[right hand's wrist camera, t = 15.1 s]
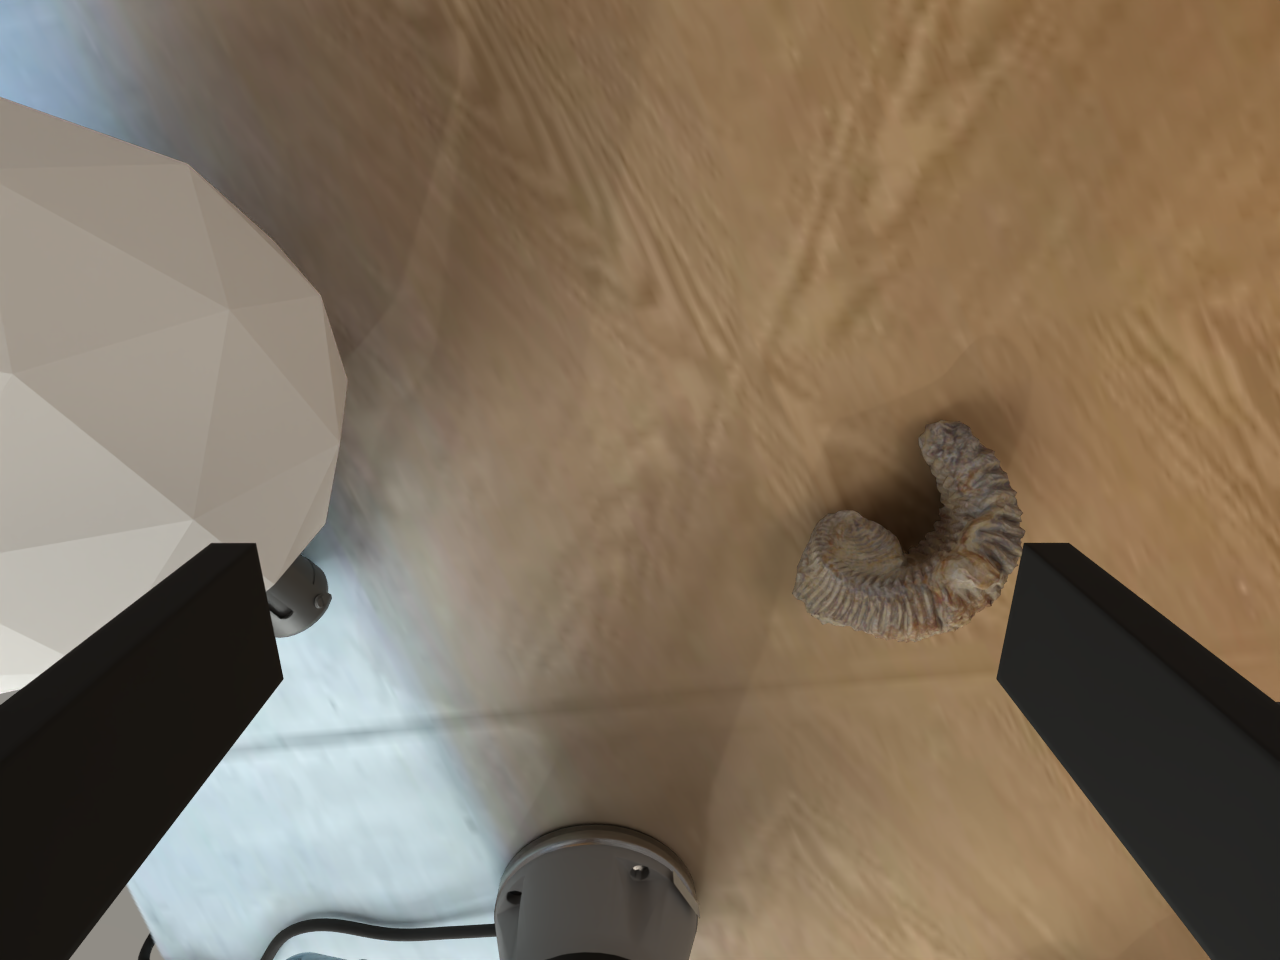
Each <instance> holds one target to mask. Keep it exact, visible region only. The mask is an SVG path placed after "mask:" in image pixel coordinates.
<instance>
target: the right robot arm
mask: <svg viewBox="0 0 1280 960" xmlns="http://www.w3.org/2000/svg"><path fill="white" fill-rule="evenodd" d="M282 680H283V674H282V669H281V664H280V659H279V654H278V649H277V644H276V639H275V634H274V629H273V624H272V619H271V615H270V610H269V605H268V600H267V595H266V590H265V585H264V580H263V575H262V570H261V565H260V560H259V555H258V550H257V545H256V543H211V544H209V545H208V546H207V547H205V548H204V549H203V550H201V551H200V552H199V553H198V554H196V555H195V556H194V557H192V558H191V559H190V560H188V561H187V562H186V563H185V564H183V565H182V566H181V567H179V568H178V569H177V570H175V571H174V572H173V573H172V574H170V575H169V576H168V577H166V578H165V579H164V580H162V581H161V582H160V583H159V584H157V585H156V586H155V587H153V588H152V589H151V590H149V591H148V592H147V593H146V594H144V595H143V596H142V597H140V598H139V599H138V600H136V601H135V602H134V603H133V604H131V605H130V606H129V607H127V608H126V609H125V610H123V611H122V612H121V613H120V614H118V615H117V616H116V617H114V618H113V619H112V620H110V621H109V622H108V623H107V624H105V625H104V626H103V627H101V628H100V629H99V630H97V631H96V632H95V633H94V634H92V635H91V636H90V637H88V638H87V639H86V640H84V641H83V642H82V643H81V644H79V645H78V646H77V647H75V648H74V649H73V650H71V651H70V652H69V653H68V654H66V655H65V656H64V657H62V658H61V659H60V660H58V661H57V662H56V663H55V664H53V665H52V666H51V667H49V668H48V669H47V670H45V671H44V672H43V673H42V674H40V675H39V676H38V677H36V678H35V679H34V680H32V681H31V682H30V683H29V684H27V685H26V686H25V687H23V688H22V689H21V690H19V691H18V692H17V693H16V694H14V695H13V696H12V697H10V698H9V699H8V700H6V701H5V702H4V703H3V704H1V705H0V960H69V959H70V957H71V956H72V955H73V953H74V952H75V951H76V949H77V948H78V947H79V946H80V944H81V943H82V942H83V940H84V939H85V938H86V936H87V935H88V934H89V933H90V931H91V930H92V929H93V927H94V926H95V925H96V923H97V922H98V921H99V919H100V918H101V917H102V915H103V914H104V913H105V912H106V910H107V909H108V908H109V906H110V905H111V904H112V902H113V901H114V900H115V899H116V897H117V896H118V895H119V893H120V892H121V891H122V889H123V888H124V887H125V885H126V884H127V883H128V882H129V880H130V879H131V878H132V876H133V875H134V874H135V872H136V871H137V870H138V868H139V867H140V866H141V865H142V863H143V862H144V861H145V859H146V858H147V857H148V855H149V854H150V853H151V851H152V850H153V849H154V848H155V846H156V845H157V844H158V842H159V841H160V840H161V838H162V837H163V836H164V835H165V833H166V832H167V831H168V829H169V828H170V827H171V825H172V824H173V823H174V821H175V820H176V819H177V818H178V816H179V815H180V814H181V812H182V811H183V810H184V808H185V807H186V806H187V804H188V803H189V802H190V801H191V799H192V798H193V797H194V795H195V794H196V793H197V791H198V790H199V789H200V787H201V786H202V785H203V784H204V782H205V781H206V780H207V778H208V777H209V776H210V774H211V773H212V772H213V770H214V769H215V768H216V767H217V765H218V764H219V763H220V761H221V760H222V759H223V757H224V756H225V755H226V753H227V752H228V751H229V750H230V748H231V747H232V746H233V744H234V743H235V742H236V740H237V739H238V738H239V736H240V735H241V734H242V733H243V731H244V730H245V729H246V727H247V726H248V725H249V723H250V722H251V721H252V720H253V718H254V717H255V716H256V714H257V713H258V712H259V710H260V709H261V708H262V706H263V705H264V704H265V703H266V701H267V700H268V699H269V697H270V696H271V695H272V693H273V692H274V691H275V689H276V688H277V687H278V686H279V684H280V683H281V682H282ZM997 680H998V682H999V683H1000V684H1001V686H1002V687H1003V688H1004V689H1005V691H1006V692H1007V693H1008V695H1009V696H1010V697H1011V699H1012V700H1013V701H1014V703H1015V704H1016V705H1017V706H1018V708H1019V709H1020V710H1021V712H1022V713H1023V714H1024V716H1025V717H1026V718H1027V720H1028V721H1029V722H1030V723H1031V725H1032V726H1033V727H1034V729H1035V730H1036V731H1037V733H1038V734H1039V735H1040V736H1041V738H1042V739H1043V740H1044V742H1045V743H1046V744H1047V746H1048V747H1049V748H1050V750H1051V751H1052V752H1053V753H1054V755H1055V756H1056V757H1057V759H1058V760H1059V761H1060V763H1061V764H1062V765H1063V767H1064V768H1065V769H1066V770H1067V772H1068V773H1069V774H1070V776H1071V777H1072V778H1073V780H1074V781H1075V782H1076V784H1077V785H1078V786H1079V787H1080V789H1081V790H1082V791H1083V793H1084V794H1085V795H1086V797H1087V798H1088V799H1089V801H1090V802H1091V803H1092V804H1093V806H1094V807H1095V808H1096V810H1097V811H1098V812H1099V814H1100V815H1101V816H1102V818H1103V819H1104V820H1105V821H1106V823H1107V824H1108V825H1109V827H1110V828H1111V829H1112V831H1113V832H1114V833H1115V835H1116V836H1117V837H1118V838H1119V840H1120V841H1121V842H1122V844H1123V845H1124V846H1125V848H1126V849H1127V850H1128V852H1129V853H1130V854H1131V855H1132V857H1133V858H1134V859H1135V861H1136V862H1137V863H1138V865H1139V866H1140V867H1141V868H1142V870H1143V871H1144V872H1145V874H1146V875H1147V876H1148V878H1149V879H1150V880H1151V882H1152V883H1153V884H1154V885H1155V887H1156V888H1157V889H1158V891H1159V892H1160V893H1161V895H1162V896H1163V897H1164V899H1165V900H1166V901H1167V902H1168V904H1169V905H1170V906H1171V908H1172V909H1173V910H1174V912H1175V913H1176V914H1177V916H1178V917H1179V918H1180V919H1181V921H1182V922H1183V923H1184V925H1185V926H1186V927H1187V929H1188V930H1189V931H1190V933H1191V934H1192V935H1193V936H1194V938H1195V939H1196V940H1197V942H1198V943H1199V944H1200V946H1201V947H1202V948H1203V950H1204V951H1205V952H1206V953H1207V955H1208V956H1209V957H1210V959H1211V960H1280V702H1275V701H1274V700H1272V699H1271V698H1270V697H1268V696H1267V695H1266V694H1264V693H1263V692H1262V691H1261V690H1259V689H1258V688H1257V687H1255V686H1254V685H1253V684H1251V683H1250V682H1249V681H1248V680H1246V679H1245V678H1244V677H1242V676H1241V675H1240V674H1238V673H1237V672H1236V671H1235V670H1233V669H1232V668H1231V667H1229V666H1228V665H1227V664H1225V663H1224V662H1223V661H1222V660H1220V659H1219V658H1218V657H1216V656H1215V655H1214V654H1212V653H1211V652H1210V651H1209V650H1207V649H1206V648H1205V647H1203V646H1202V645H1201V644H1199V643H1198V642H1197V641H1196V640H1194V639H1193V638H1192V637H1190V636H1189V635H1188V634H1186V633H1185V632H1184V631H1183V630H1181V629H1180V628H1179V627H1177V626H1176V625H1175V624H1173V623H1172V622H1171V621H1170V620H1168V619H1167V618H1166V617H1164V616H1163V615H1162V614H1160V613H1159V612H1158V611H1157V610H1155V609H1154V608H1153V607H1151V606H1150V605H1149V604H1147V603H1146V602H1145V601H1144V600H1142V599H1141V598H1140V597H1138V596H1137V595H1136V594H1134V593H1133V592H1132V591H1131V590H1129V589H1128V588H1127V587H1125V586H1124V585H1123V584H1121V583H1120V582H1119V581H1118V580H1116V579H1115V578H1114V577H1112V576H1111V575H1110V574H1108V573H1107V572H1106V571H1105V570H1103V569H1102V568H1101V567H1099V566H1098V565H1097V564H1095V563H1094V562H1093V561H1092V560H1090V559H1089V558H1088V557H1086V556H1085V555H1084V554H1082V553H1081V552H1080V551H1079V550H1077V549H1076V548H1075V547H1073V546H1072V545H1071V544H1069V543H1024V545H1023V550H1022V555H1021V560H1020V565H1019V570H1018V575H1017V580H1016V585H1015V590H1014V595H1013V600H1012V605H1011V610H1010V615H1009V619H1008V624H1007V629H1006V634H1005V639H1004V644H1003V649H1002V654H1001V659H1000V664H999V669H998V674H997ZM698 917H699V918H700V913H699V904H698V903H697V902H696V893H695V887H694V883H693V880H692V877H691V875H690V873H689V871H688V869H687V868H686V866H685V865H684V863H683V862H682V861H681V860H680V859H679V857H678V856H677V855H676V854H675V853H674V852H673V851H671V850H670V849H669V848H668V847H666V846H665V845H664V844H662V843H660V842H659V841H657V840H656V839H654V838H652V837H650V836H648V835H645V834H643V833H640V832H637V831H634V830H631V829H627V828H623V827H618V826H611V825H580V826H573V827H568V828H564V829H560V830H557V831H554V832H551V833H548V834H546V835H544V836H541V837H540V838H538V839H536V840H534V841H532V842H531V843H529V844H528V845H527V846H525V847H524V848H523V849H522V850H520V851H519V852H518V853H517V854H516V855H515V856H514V858H513V859H512V860H511V861H510V863H509V864H508V866H507V867H506V869H505V871H504V873H503V876H502V878H501V882H500V885H499V890H498V895H497V900H496V905H495V911H494V921H495V924H483V925H466V926H448V927H433V928H415V929H399V928H386V927H379V926H373V925H368V924H362V923H357V922H352V921H346V920H339V919H327V918H326V919H311V920H306V921H301V922H298V923H296V924H293V925H291V926H289V927H288V928H286V929H284V930H282V931H281V932H280V933H279V934H278V935H277V936H276V937H275V938H274V939H273V940H272V942H271V943H270V945H269V946H268V948H267V949H266V951H265V953H264V955H263V956H262V958H261V960H273V958H274V956H275V955H276V953H277V951H278V950H279V948H280V947H281V946H282V945H283V944H284V943H285V942H286V941H287V940H288V939H290V938H291V937H293V936H296V935H299V934H302V933H307V932H314V931H332V932H340V933H346V934H351V935H357V936H362V937H367V938H373V939H379V940H388V941H426V940H442V939H461V938H479V937H496V936H497V943H498V950H499V957H500V960H689V956H690V953H691V949H692V945H693V941H694V938H695V934H696V930H697V923H698ZM154 945H155V941H154V939H153V936H152V935H151V932H150V933H149V935H148V937H147V938H146V940H145V942H144V944H143V946H142V948H141V950H140V953H139V956H138V960H150V954H151V951H152V948H153V946H154ZM286 960H345V959H340V958H336V957H331V956H326V955H322V954H317V953H311V952H309V953H300V954H297V955H294V956H292V957H290V958H288V959H286ZM361 960H366V959H361Z"/></svg>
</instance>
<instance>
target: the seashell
mask: <svg viewBox="0 0 1280 960" xmlns="http://www.w3.org/2000/svg"><path fill="white" fill-rule="evenodd" d="M919 447H920V448H921V453H922V456H923V458H924V459H925V461H926V463H927V464H928V465H929V466H930V469H931V473H932V474H933V475H934V476H935V477H936V484H937V490H938V491H939V492H940V493H941V494H942V495H940V501H941V503H942V504H944V505H945V506H944V507H942V508H939V517H940V519H941V520H940V521H935V523H934V525H933V526H934V529H935V531H931V532H928V533H927V534H926V535H925V538H926V540H924V541H920V542H919V545H918V547H913V546H912V547H911V548H910V549H909V551H908V554H906V553H903V551H902V548H901V545H900V542H899V540H898V539H897V537H896V536H895V535H893V534H892V533H891V532H890V531H889V530H886V529H885V528H884V527H883V526H881V525H880V524H878V523H876V522H874V521H870V520H868V519H866V518H863V517H862V516H861V515H860V514H859V512H856V511H853V510H843V511H838V512H837V513H835V514H827V515H826V516H825V517H824V518H822V519H821V520H820V521H819V522H818V523H817V525H816V527H815V528H814V530H813V532H812V534H811V538H810V541H809V542H808V544H807V546H806V548H805V550H804V552H803V554H802V557H801V560H800V562H799V564H798V566H797V578H796V583H795V586H794V590H793V593H792V594H793V595H794V596H795V597H796V598H797V599H798V600H801V601H803V602H805V606H806V610H807V612H808V613H810V614H811V616H813V617H815V618H817V619H819V620H820V621H821V623H822V624H826V623H830V624H832V625H835V626H843V627H844V626H851V627H852V628H853V629H854V630H855V631H859V630H862V631H864V632H866V633H868V634H872V635H874V636H875V638H882V639H886V640H888V639H895V640H897V641H898V642H899V641H905V642H908V641H914V642H916V641H918V640H921V639H923V638H928V637H931V636H933V635H934V634H942V633H944V632H946V633H947V632H948V631H956V630H957V629H958V628H959V627H963V625H965V624H968V623H970V622H971V618H972V617H973V616H974V615H975V613H977V612H980V611H981V610H982V609H984V608H985V607H990V606H992V605H991V604H992V603H993V602H994V601H995V600H996V599H997V598H998V597H999V596H1000V595H1001V589H1002V588H1003V587H1004V584H1005V583H1006V582H1007V578H1008V574H1011V573H1012V571H1013V569H1014V568H1015V567H1016V566H1018V564H1017V561H1018V558H1019V557H1021V555H1022V550H1023V549H1022V547H1021V540H1020V539H1021V538H1023V536H1024V534H1025V530H1023V529H1022V528H1021V527H1020V526H1019V524H1020V522H1022V521H1021V518H1020V516H1021V515H1022V514H1023V512H1022V511H1021V510H1020V509H1019V507H1018V505H1017V499H1016V498H1015V495H1016V493H1017V492H1016V491H1014V490H1013V489H1012V488H1011V486H1010V485H1009V480H1008V476H1007V473H1006V472H1004V471H1003V470H1002V469H1001V467H1000V461H999V460H998V459H997V458H996V457H995V456H994V453H995V451H993V450H990V449H987V448H986V447H984V446H983V445H982V444H980V442H979V439H977V438H975V437H974V436H973V435H972V432H971V429H970V427H968V426H967V425H965V424H963V423H961V422H960V421H958V422H948V421H944V420H940V421H939V422H937V423H932V424H928V425H926V428H925V432H924V433H923V434H921V435H920V437H919Z"/></svg>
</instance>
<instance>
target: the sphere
mask: <svg viewBox="0 0 1280 960" xmlns="http://www.w3.org/2000/svg"><path fill="white" fill-rule="evenodd" d="M347 384H348V379H347V376H346V373H345V370H344V367H343V364H342V360H341V357H340V354H339V351H338V348H337V345H336V341H335V338H334V335H333V332H332V329H331V326H330V322H329V319H328V316H327V313H326V310H325V307H324V303H323V300H322V297H321V295H320V294H319V292H318V291H317V290H316V289H315V288H314V287H313V285H312V284H311V283H310V282H309V281H308V280H307V279H306V277H305V276H304V275H303V274H302V273H301V272H300V270H299V269H298V268H297V267H296V266H295V265H294V263H293V262H292V261H291V260H290V259H289V258H288V257H287V255H286V254H285V253H284V252H283V251H282V250H281V248H280V247H279V246H278V245H277V244H276V243H275V241H274V240H273V239H271V238H270V237H269V236H268V235H267V234H266V233H265V232H264V231H262V230H261V229H260V228H259V227H258V226H257V225H256V224H255V223H253V222H252V221H251V220H250V219H249V218H248V217H247V216H246V215H245V214H243V213H242V212H241V211H240V210H239V209H238V208H237V207H236V206H234V205H233V204H232V203H231V202H230V201H229V200H228V199H227V198H226V197H224V196H223V195H222V194H221V193H220V192H219V191H218V190H217V189H215V188H214V187H213V186H212V185H211V184H210V183H209V182H208V181H206V180H205V179H204V178H203V177H202V176H201V175H200V174H199V173H198V172H196V171H195V170H194V169H193V168H192V167H191V166H190V165H189V164H187V163H184V162H181V161H179V160H176V159H173V158H170V157H167V156H165V155H162V154H159V153H156V152H153V151H151V150H148V149H145V148H142V147H139V146H137V145H134V144H131V143H128V142H125V141H122V140H120V139H117V138H114V137H111V136H108V135H106V134H103V133H100V132H97V131H94V130H92V129H89V128H86V127H83V126H80V125H77V124H75V123H72V122H69V121H66V120H63V119H61V118H58V117H55V116H52V115H49V114H47V113H44V112H41V111H38V110H35V109H33V108H30V107H27V106H24V105H21V104H18V103H16V102H13V101H10V100H7V99H4V98H2V97H0V694H1V693H5V692H9V691H14V690H18V689H22V688H23V687H25V686H26V685H27V684H29V683H30V682H31V681H32V680H34V679H35V678H36V677H38V676H39V675H40V674H42V673H43V672H44V671H45V670H47V669H48V668H49V667H51V666H52V665H53V664H55V663H56V662H57V661H58V660H60V659H61V658H62V657H64V656H65V655H66V654H68V653H69V652H70V651H71V650H73V649H74V648H75V647H77V646H78V645H79V644H81V643H82V642H83V641H84V640H86V639H87V638H88V637H90V636H91V635H92V634H94V633H95V632H96V631H97V630H99V629H100V628H101V627H103V626H104V625H105V624H107V623H108V622H109V621H110V620H112V619H113V618H114V617H116V616H117V615H118V614H120V613H121V612H122V611H123V610H125V609H126V608H127V607H129V606H130V605H131V604H133V603H134V602H135V601H136V600H138V599H139V598H140V597H142V596H143V595H144V594H146V593H147V592H148V591H149V590H151V589H152V588H153V587H155V586H156V585H157V584H159V583H160V582H161V581H162V580H164V579H165V578H166V577H168V576H169V575H170V574H172V573H173V572H174V571H175V570H177V569H178V568H179V567H181V566H182V565H183V564H185V563H186V562H187V561H188V560H190V559H191V558H192V557H194V556H195V555H196V554H198V553H199V552H200V551H201V550H203V549H204V548H205V547H207V546H208V545H209V544H211V543H256V545H257V550H258V555H259V560H260V565H261V570H262V575H263V580H264V585H265V590H266V595H267V600H268V605H269V610H270V615H271V619H272V624H273V629H274V634H275V637H278V638H281V637H289V636H292V635H296V634H298V633H300V632H302V631H304V630H306V629H307V628H309V627H311V626H312V625H313V624H314V623H316V622H317V621H318V620H319V619H320V618H321V617H322V615H323V614H324V613H325V611H326V610H327V608H328V606H329V604H330V602H331V599H332V596H331V594H329V593H328V583H327V579H326V576H325V574H324V572H323V571H322V570H321V569H320V568H319V567H318V566H317V565H315V564H314V563H313V562H311V561H310V560H309V559H307V558H305V557H303V556H301V555H300V553H301V552H302V551H303V550H304V549H305V547H306V546H307V545H308V544H309V543H310V541H311V540H312V539H313V538H314V537H315V536H316V534H317V533H318V532H319V531H320V530H321V528H322V527H323V526H324V525H325V524H326V518H327V513H328V507H329V502H330V496H331V491H332V485H333V480H334V474H335V469H336V463H337V458H338V452H339V447H340V440H341V432H342V424H343V416H344V408H345V400H346V392H347Z"/></svg>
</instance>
